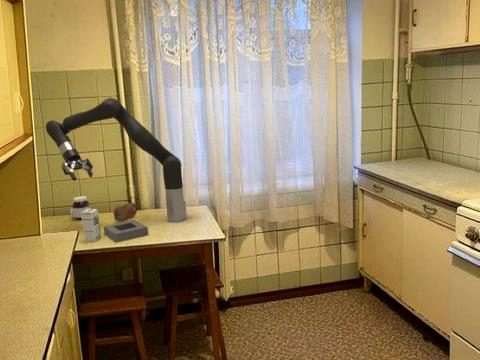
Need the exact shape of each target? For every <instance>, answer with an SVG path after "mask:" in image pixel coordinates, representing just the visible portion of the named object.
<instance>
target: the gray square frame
mask: <svg viewBox="0 0 480 360" xmlns="http://www.w3.org/2000/svg"><path fill="white" fill-rule="evenodd" d="M103 234H104V236H106V237H108V239H109V238H110V239H111V240H112V241H113V242H115V243H120V242H124V241H129V240H132V239H137V238H140V237H141V238H142V237H145V236H149V229H148V226H147V225H145V224H143V223H141V222H139V221H137V220H136V219H132V220H131V219H130V220H126V221H123V222H117V223H113V224H110V225H109V224H108V225H104V226H103Z"/></svg>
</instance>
